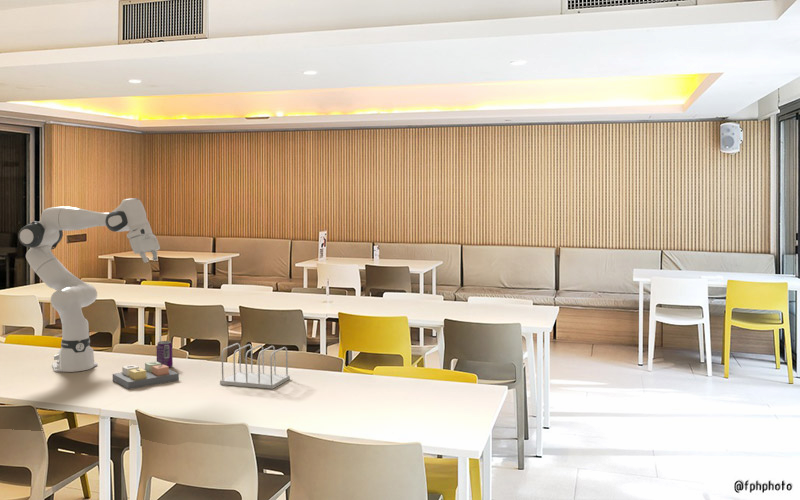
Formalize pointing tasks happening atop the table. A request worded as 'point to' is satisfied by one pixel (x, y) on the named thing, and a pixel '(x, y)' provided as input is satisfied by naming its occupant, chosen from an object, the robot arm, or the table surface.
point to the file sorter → (255, 378)
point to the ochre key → (137, 374)
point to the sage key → (149, 365)
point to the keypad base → (144, 379)
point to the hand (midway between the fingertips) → (151, 261)
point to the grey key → (126, 369)
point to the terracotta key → (160, 370)
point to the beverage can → (164, 353)
